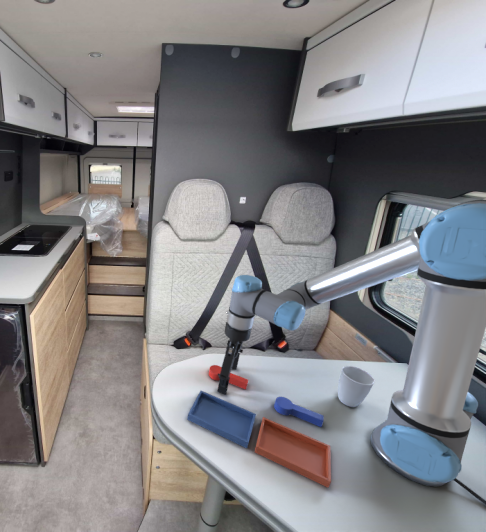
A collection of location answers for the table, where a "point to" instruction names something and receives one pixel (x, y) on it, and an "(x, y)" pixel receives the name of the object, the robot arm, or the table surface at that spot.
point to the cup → (354, 385)
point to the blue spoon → (297, 411)
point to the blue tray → (222, 418)
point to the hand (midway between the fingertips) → (227, 379)
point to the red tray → (295, 451)
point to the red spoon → (233, 379)
